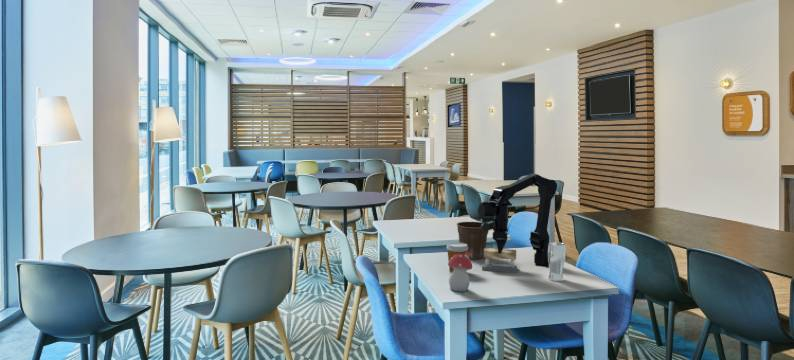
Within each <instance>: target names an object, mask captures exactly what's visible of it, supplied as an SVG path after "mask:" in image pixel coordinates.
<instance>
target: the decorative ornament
mask: <svg viewBox="0 0 794 360" xmlns="http://www.w3.org/2000/svg"><path fill="white" fill-rule="evenodd" d="M471 256H472V254H471V253H470V252H466V253H465V255H463V254H456V255H454V256H453V257H452V258H451V259H450V260H449V261H448V262H447V266H448V267H449V266H450V267H452V268H453V269H454V270H453V272H452V273H451V272H450V273H451V274H450V275H449V278H448V284H449V288H450V290H452V291H454V292H460V293H461V292H463V293H464V292H467V291H468V289H469V286H470V284H471V283H470V282H471V281H470V280H471V279H470V276H469V274H468V272H467V271H469V270H470V271H471V270H472V269H473V263H472V261H471V259H469V257H471Z"/></svg>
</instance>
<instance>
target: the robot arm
mask: <svg viewBox="0 0 794 360" xmlns="http://www.w3.org/2000/svg"><path fill="white" fill-rule="evenodd" d="M531 186H536V187H537V192H538V195H539V203H538V204H539V206H538V212H537V220H536V226H535V227H536V228H535V229H534V231H530V236H529V239H528V240H529V241H530V245H531V246H532V250H533V251H535V252H534V257H533V262H534V264H535V266H539V267H540V266H542V267H549V262H548V246H549V243H550V235H549V231H548V226H549V218H550V211H551V205H552V200H553V198H554V196H555V195H556V194H557V193H556V192H557V190H558V182H557V181H556V180H554V179H549V178H548V177H547V178H546V177H544V176H541V175H540V174H537V173H529V174H528V175H526V176H524V177H522V178H520V179H518V180H517V181H515V182H512V183H510V184H507V185H500V186H497V187H495V188H493V191H492V194H491V195H490V197H489V198H488V200H487V201H481V202H480V204H479V205H478V208H477V213H478V216H479V217H480V218H491V217H492V218H493V220H491V221H486V222H483V223H484V224H481V227H482V230H483V232H486V231H488V230H489V231H491V230H492V231H493V232H492V239H493V240H494V241H495V242H496V249H498V253H501V252H502V250H503V249H504V248H505V245H506V243H507V241H508V234H509V227H508V219H509V218H508V216H509V215H508V214H509V213H508V210H509V207H512V206H513V203H511V202H510V200H511V199H512V198H514V197H515V194H517V193H519V192H521V191H522V190H524V189H527V188H529V187H531ZM489 231H488V232H489Z"/></svg>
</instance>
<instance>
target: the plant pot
mask: <svg viewBox="0 0 794 360" xmlns="http://www.w3.org/2000/svg"><path fill="white" fill-rule="evenodd" d="M484 223H485V222H482V221H481V222H480V221H459V222H457V223H456V226H457V233H458V243H465V244H467V246H468V250H467V252H470V253H471V254H472V256H471V257H469V260H480V259H484V258H483V257H484V248H487V247H486V246H487V241H488V235H489V231H490V230H488V231H486V232H483V230H482V227H481V224H484Z"/></svg>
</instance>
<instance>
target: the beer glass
mask: <svg viewBox="0 0 794 360" xmlns="http://www.w3.org/2000/svg"><path fill="white" fill-rule="evenodd" d="M566 251H567V249H566V243H564V242H559V241H549V246H548V262H549V266H548V268H549V270H548V277H547V279H548V280H549V281H551V282H563V281H564V267H565V262H566V257H567V256H566Z"/></svg>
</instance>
